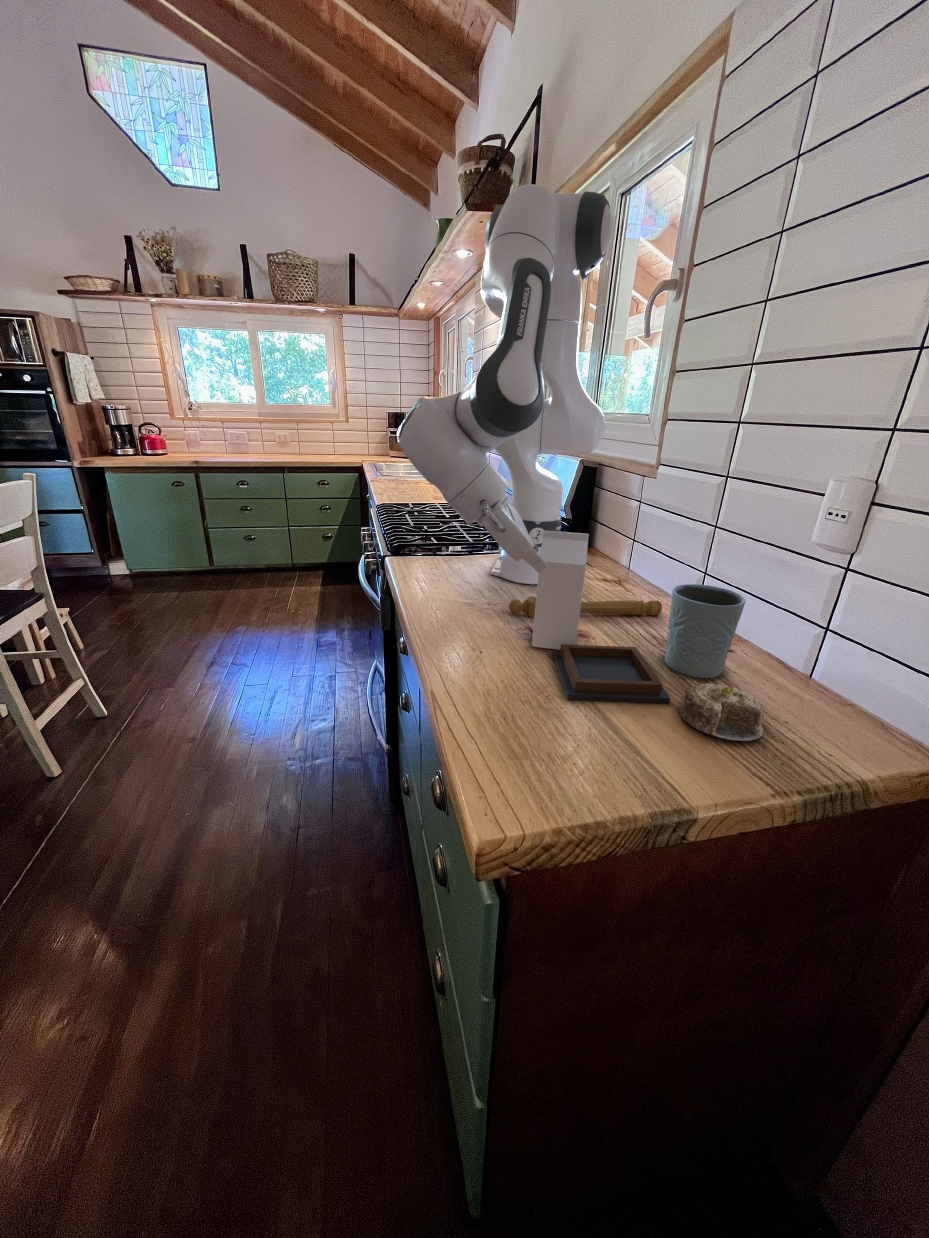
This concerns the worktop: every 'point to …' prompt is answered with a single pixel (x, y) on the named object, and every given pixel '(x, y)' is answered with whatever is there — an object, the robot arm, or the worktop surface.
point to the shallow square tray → (607, 674)
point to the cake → (723, 712)
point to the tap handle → (596, 607)
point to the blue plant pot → (701, 629)
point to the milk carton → (559, 589)
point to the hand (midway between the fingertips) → (538, 560)
